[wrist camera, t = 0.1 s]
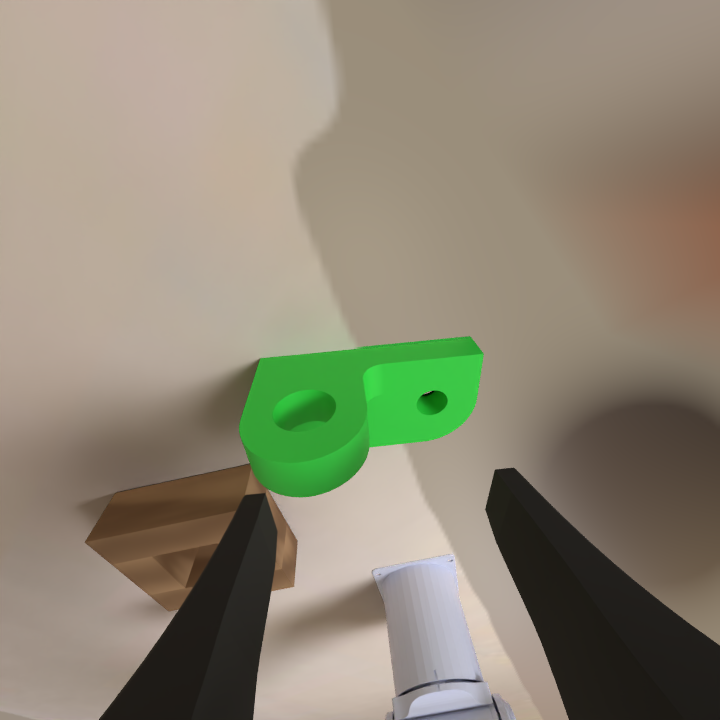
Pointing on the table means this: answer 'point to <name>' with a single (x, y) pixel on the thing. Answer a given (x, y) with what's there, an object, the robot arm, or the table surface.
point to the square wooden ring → (182, 532)
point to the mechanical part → (352, 408)
